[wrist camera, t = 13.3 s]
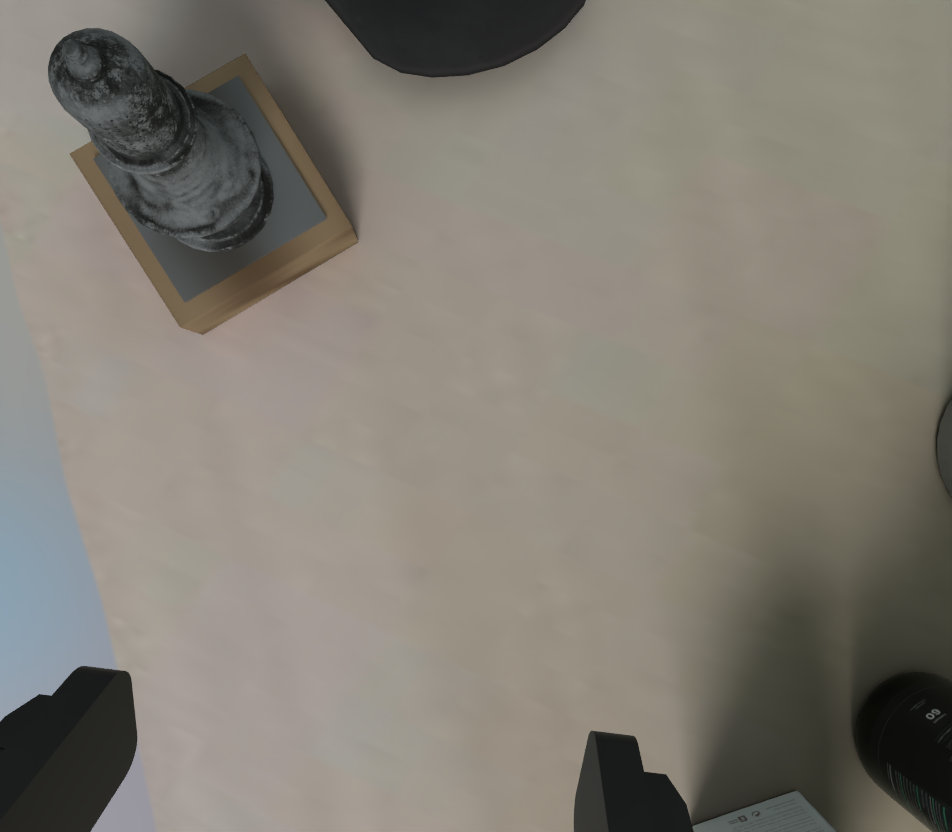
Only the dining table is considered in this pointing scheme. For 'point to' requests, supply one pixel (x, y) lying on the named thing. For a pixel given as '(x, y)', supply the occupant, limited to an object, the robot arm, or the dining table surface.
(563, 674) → the dining table surface
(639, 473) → the dining table surface
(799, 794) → the small box
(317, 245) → the wooden picture frame
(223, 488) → the dining table surface
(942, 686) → the supplement bottle
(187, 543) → the dining table surface
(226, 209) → the dark grey chess piece
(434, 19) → the casserole
